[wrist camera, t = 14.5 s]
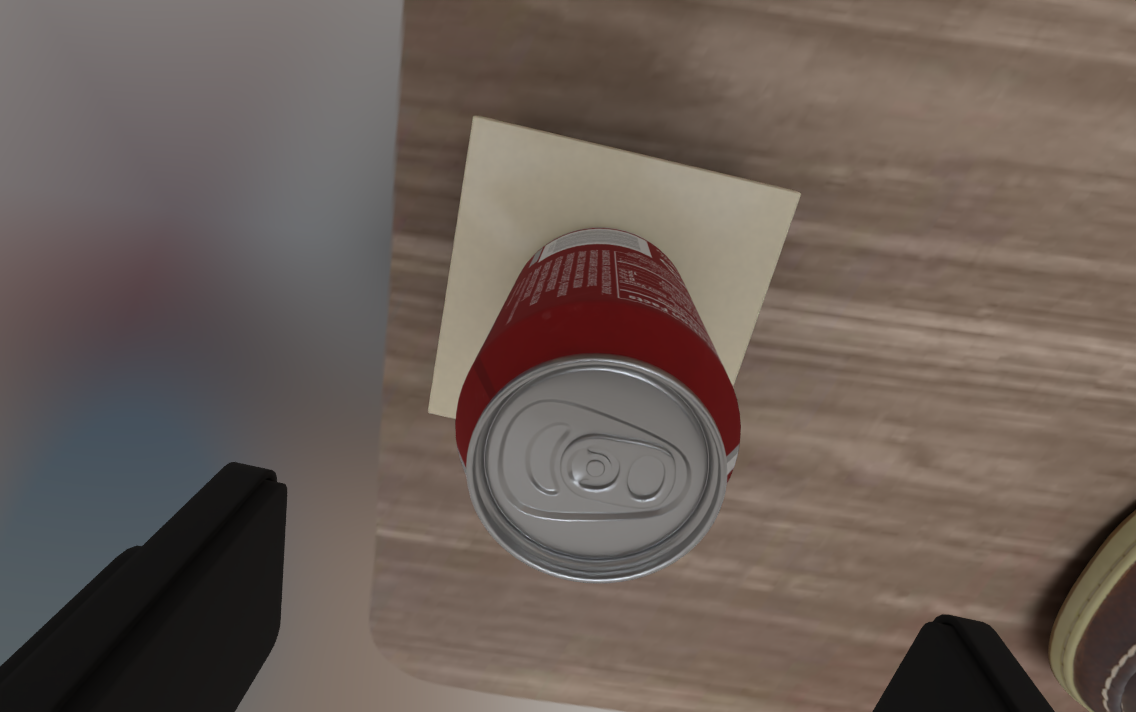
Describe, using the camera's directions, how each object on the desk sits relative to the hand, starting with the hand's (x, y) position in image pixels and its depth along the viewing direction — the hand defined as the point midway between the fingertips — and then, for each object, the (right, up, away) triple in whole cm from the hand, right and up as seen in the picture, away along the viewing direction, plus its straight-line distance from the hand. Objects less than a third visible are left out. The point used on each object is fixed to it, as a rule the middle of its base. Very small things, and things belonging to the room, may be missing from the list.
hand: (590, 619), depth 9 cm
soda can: (+1, +6, +15) cm, 16 cm away
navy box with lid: (+1, +8, +21) cm, 22 cm away
